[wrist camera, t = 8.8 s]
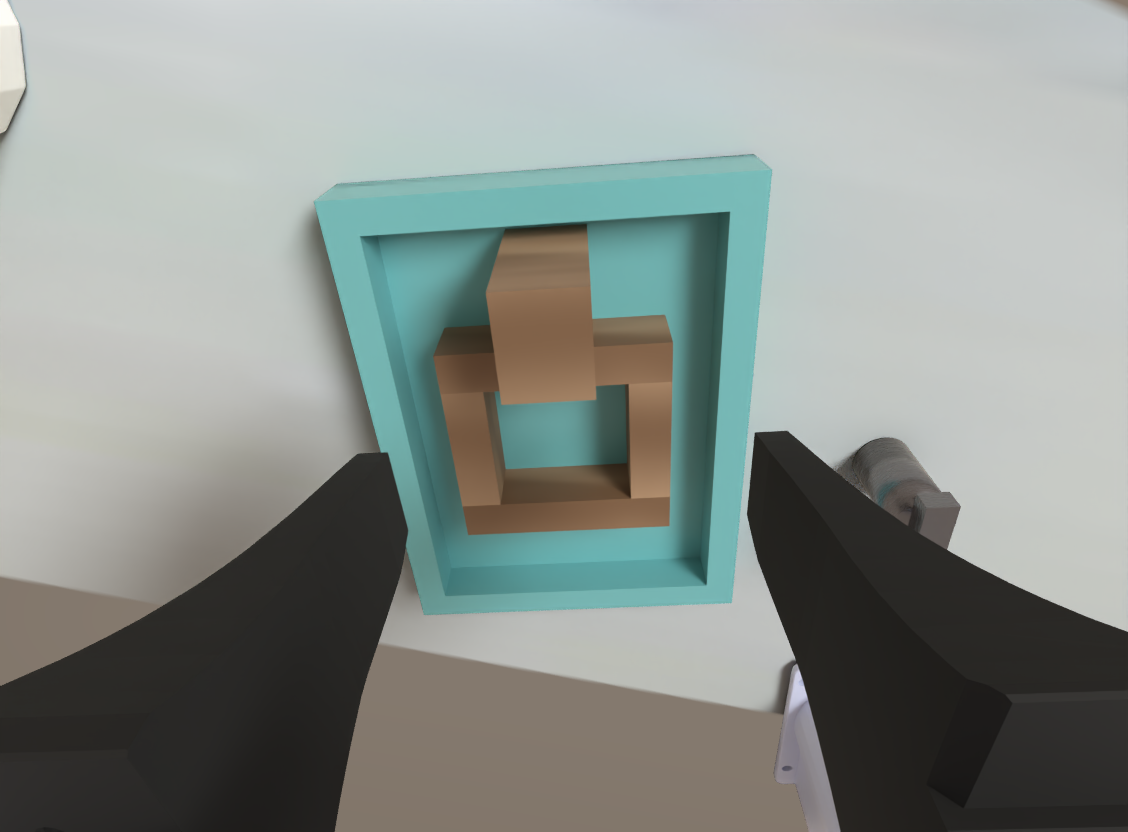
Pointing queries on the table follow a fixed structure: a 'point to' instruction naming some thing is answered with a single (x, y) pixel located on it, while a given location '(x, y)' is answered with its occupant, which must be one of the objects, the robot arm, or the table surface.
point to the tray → (572, 428)
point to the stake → (906, 489)
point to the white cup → (10, 65)
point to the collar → (555, 393)
